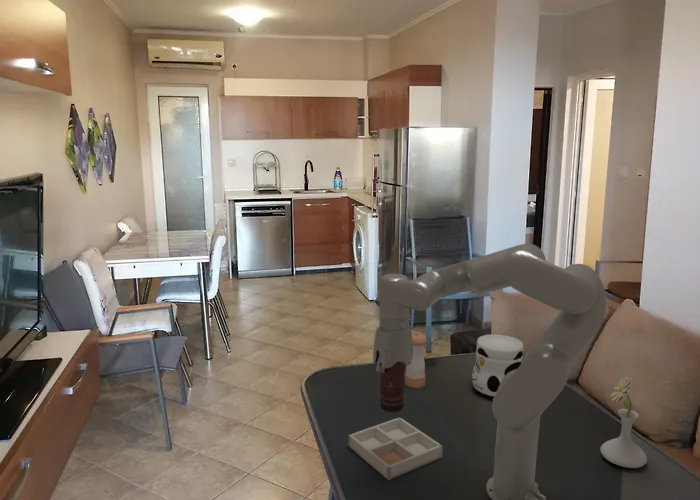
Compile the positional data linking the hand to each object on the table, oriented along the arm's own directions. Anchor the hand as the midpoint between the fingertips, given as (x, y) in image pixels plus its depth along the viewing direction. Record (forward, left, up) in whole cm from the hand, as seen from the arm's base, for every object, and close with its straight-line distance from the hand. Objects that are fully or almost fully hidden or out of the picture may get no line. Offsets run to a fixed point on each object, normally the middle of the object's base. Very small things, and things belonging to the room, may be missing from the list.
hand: (393, 388), depth 141 cm
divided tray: (+3, -3, -21) cm, 21 cm away
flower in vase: (-34, -52, -21) cm, 66 cm away
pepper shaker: (+33, -36, -21) cm, 53 cm away
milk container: (+13, -56, -21) cm, 61 cm away
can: (0, 0, -6) cm, 6 cm away
